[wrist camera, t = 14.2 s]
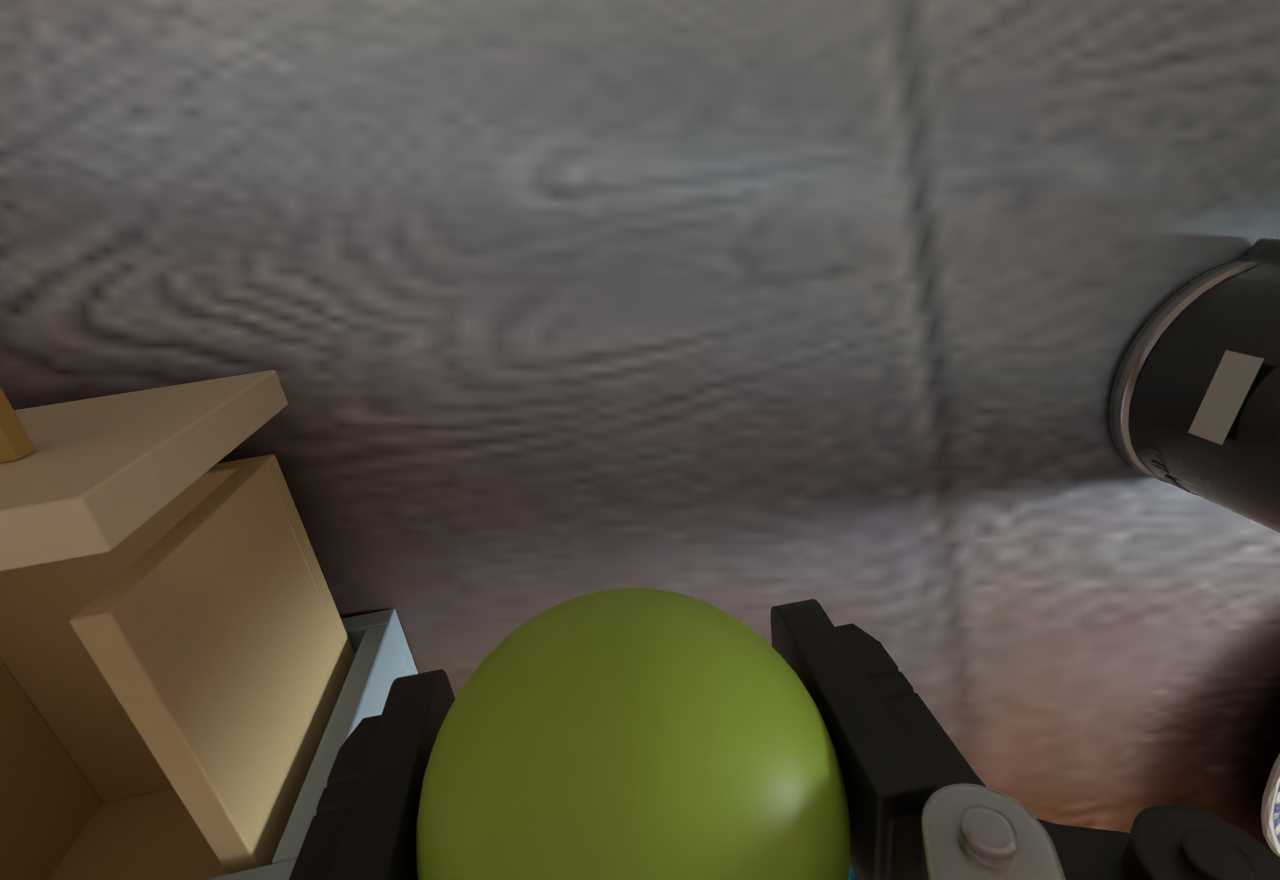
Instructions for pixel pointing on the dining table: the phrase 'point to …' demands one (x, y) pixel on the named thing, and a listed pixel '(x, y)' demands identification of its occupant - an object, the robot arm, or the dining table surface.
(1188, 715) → the dining table surface
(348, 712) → the cabinet
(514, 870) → the apple
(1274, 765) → the ceramic plate
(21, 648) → the drawer
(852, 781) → the robot arm
